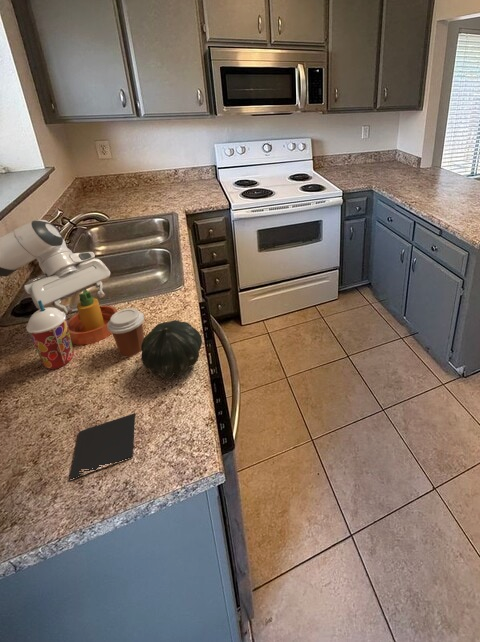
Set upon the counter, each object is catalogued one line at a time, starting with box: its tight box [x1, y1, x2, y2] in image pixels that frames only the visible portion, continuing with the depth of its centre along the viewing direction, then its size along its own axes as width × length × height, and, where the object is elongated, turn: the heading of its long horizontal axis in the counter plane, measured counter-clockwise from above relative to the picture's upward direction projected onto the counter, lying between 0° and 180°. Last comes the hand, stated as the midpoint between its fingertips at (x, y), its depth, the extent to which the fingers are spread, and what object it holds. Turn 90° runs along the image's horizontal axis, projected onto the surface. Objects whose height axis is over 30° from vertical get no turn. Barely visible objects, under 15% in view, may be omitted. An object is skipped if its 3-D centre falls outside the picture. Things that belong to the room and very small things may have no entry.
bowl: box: [67, 304, 118, 346], centre depth 109 cm, size 13×13×4 cm
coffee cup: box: [107, 307, 145, 358], centre depth 100 cm, size 9×9×12 cm
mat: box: [68, 412, 136, 481], centre depth 76 cm, size 11×11×1 cm
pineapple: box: [76, 289, 105, 332], centre depth 107 cm, size 5×5×13 cm
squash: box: [141, 319, 203, 380], centre depth 95 cm, size 14×15×15 cm
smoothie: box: [25, 300, 75, 370], centre depth 94 cm, size 8×8×20 cm
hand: (86, 304), depth 107 cm, fingers open, 8 cm apart
